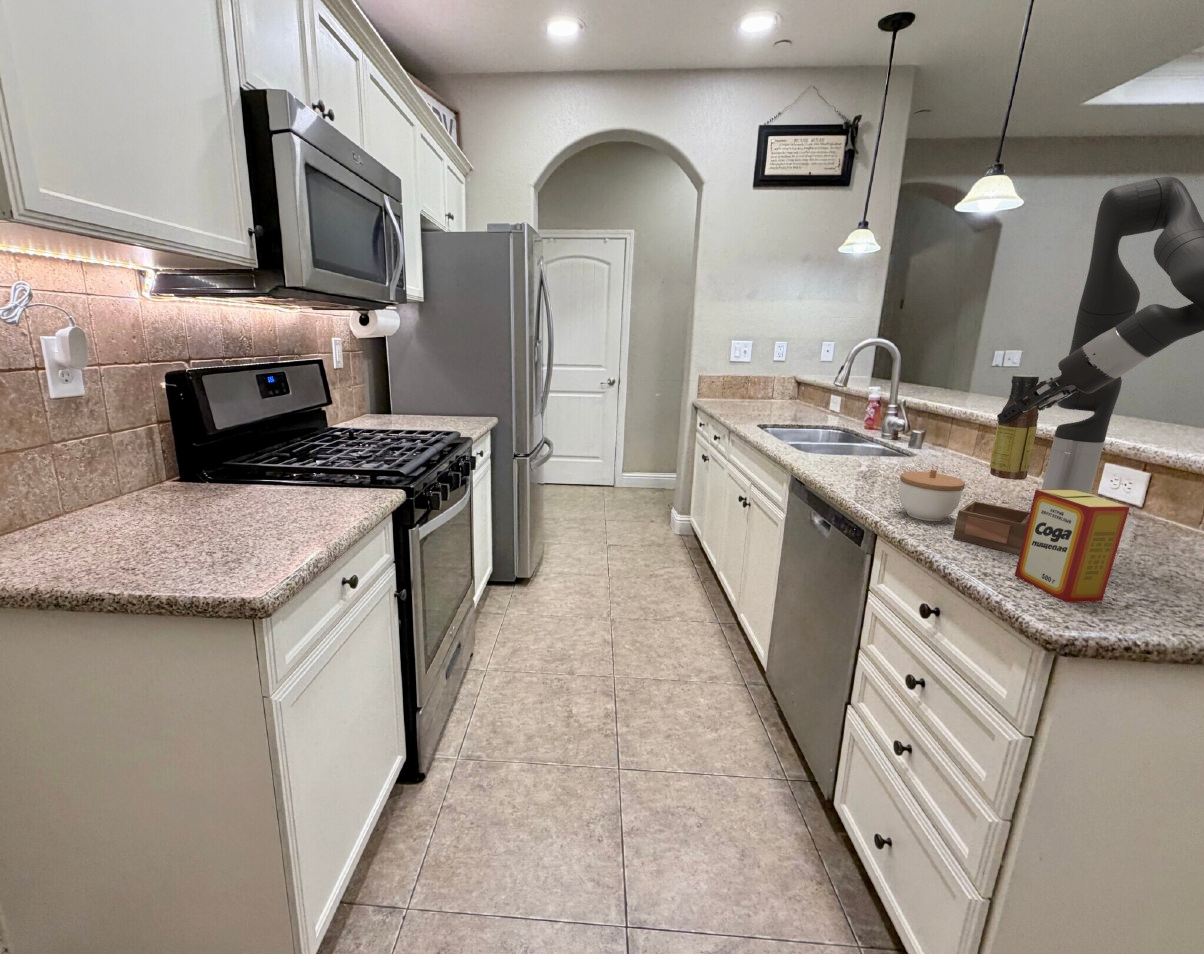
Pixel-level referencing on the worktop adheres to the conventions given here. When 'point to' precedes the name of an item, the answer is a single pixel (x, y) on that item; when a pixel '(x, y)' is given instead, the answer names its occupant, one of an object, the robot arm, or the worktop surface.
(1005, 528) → the wooden compartment tray
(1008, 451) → the sauce bottle
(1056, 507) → the baking soda box
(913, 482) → the white lidded bowl
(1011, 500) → the worktop surface
